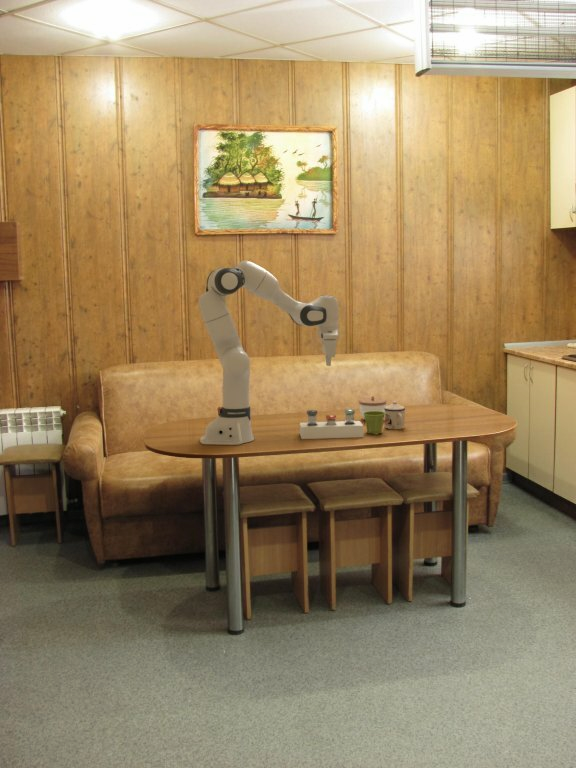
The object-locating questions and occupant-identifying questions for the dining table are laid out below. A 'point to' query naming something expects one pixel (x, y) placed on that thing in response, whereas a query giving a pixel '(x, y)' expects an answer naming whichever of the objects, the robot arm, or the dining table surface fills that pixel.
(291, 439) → the dining table surface
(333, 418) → the brick-red plug
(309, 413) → the plug
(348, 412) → the plug
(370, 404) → the lidded bowl
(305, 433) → the block
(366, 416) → the plant pot
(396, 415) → the printed white mug
